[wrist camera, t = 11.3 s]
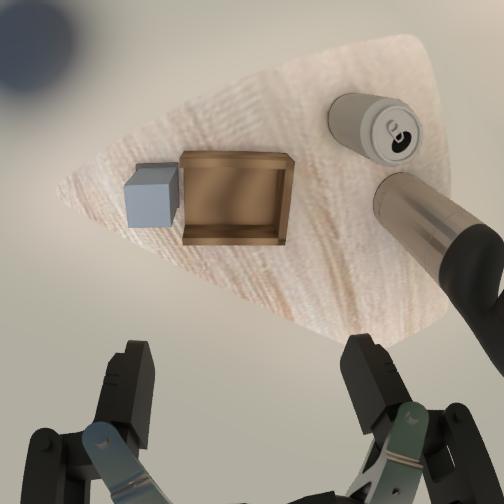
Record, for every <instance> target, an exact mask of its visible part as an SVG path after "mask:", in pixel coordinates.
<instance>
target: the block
mask: <svg viewBox="0 0 504 504" xmlns="http://www.w3.org/2000/svg"><path fill="white" fill-rule="evenodd" d="M124 194H125V204H126V212H127V221H128V228H150V227H171V226H172V223H173V219H174V216H175V213H176V210H177V207H178V178H177V167H165V168H139V169H138V170H137V171H136V172H135V174H134V175H133V176H132V177H131V178H130V179H129V180H128V181H127V182H126V184H125V185H124Z"/></svg>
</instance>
